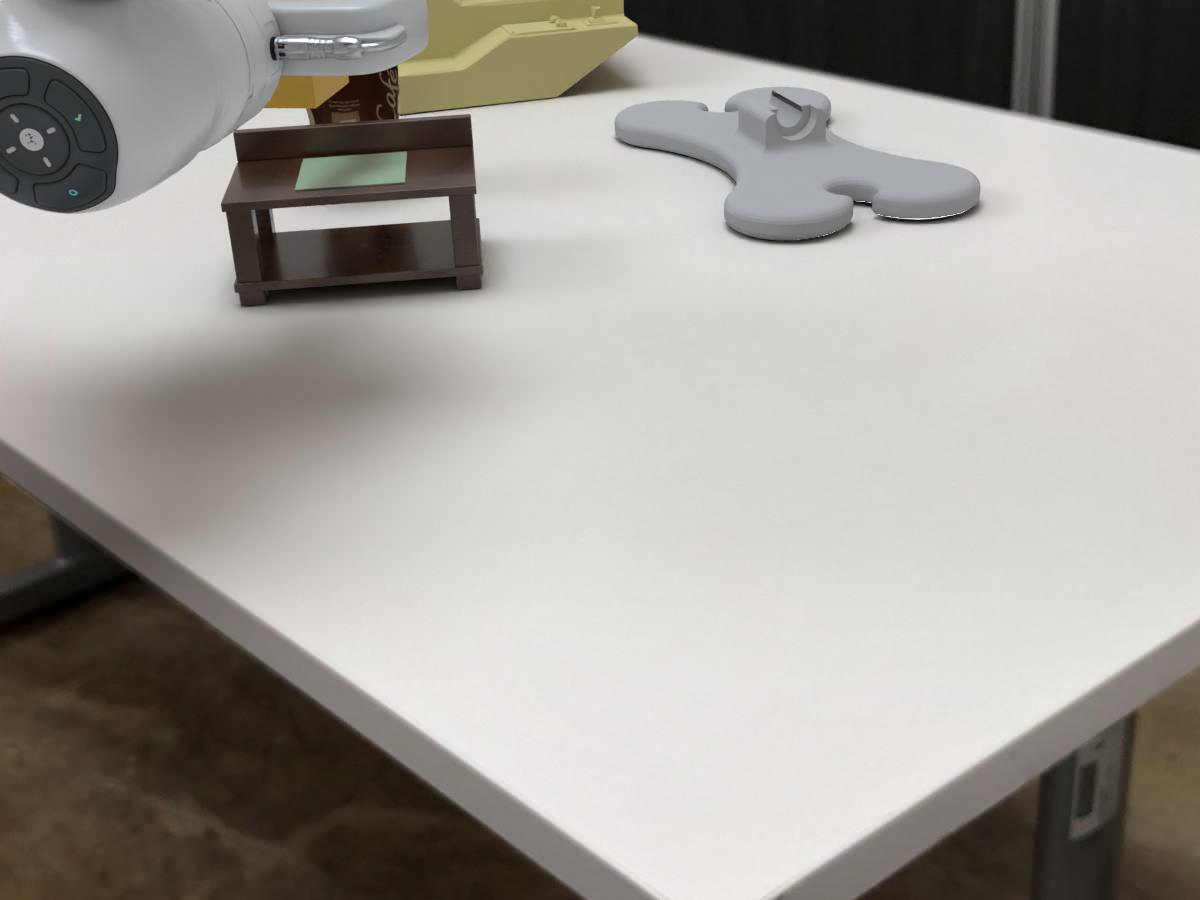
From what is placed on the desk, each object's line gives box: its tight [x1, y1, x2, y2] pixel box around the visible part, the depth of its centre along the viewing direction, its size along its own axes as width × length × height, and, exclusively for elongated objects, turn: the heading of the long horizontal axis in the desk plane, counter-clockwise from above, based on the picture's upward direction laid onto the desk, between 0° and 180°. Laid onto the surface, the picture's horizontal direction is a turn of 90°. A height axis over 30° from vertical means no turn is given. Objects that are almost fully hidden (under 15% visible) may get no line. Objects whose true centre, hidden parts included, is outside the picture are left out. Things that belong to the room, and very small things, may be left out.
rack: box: [220, 113, 484, 307], centre depth 104 cm, size 16×10×9 cm, turn 95°
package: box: [263, 76, 349, 109], centre depth 90 cm, size 5×6×10 cm
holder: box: [614, 86, 981, 241], centre depth 122 cm, size 19×34×5 cm, turn 18°
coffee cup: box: [305, 65, 400, 125], centre depth 120 cm, size 9×8×13 cm
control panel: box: [398, 0, 639, 115], centre depth 151 cm, size 24×16×20 cm
